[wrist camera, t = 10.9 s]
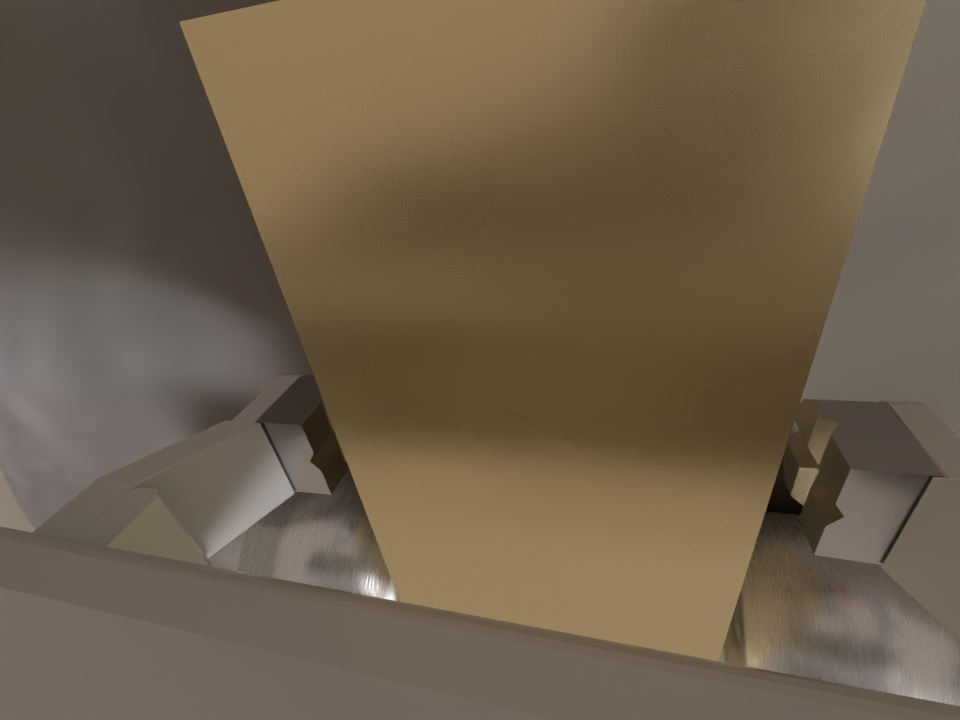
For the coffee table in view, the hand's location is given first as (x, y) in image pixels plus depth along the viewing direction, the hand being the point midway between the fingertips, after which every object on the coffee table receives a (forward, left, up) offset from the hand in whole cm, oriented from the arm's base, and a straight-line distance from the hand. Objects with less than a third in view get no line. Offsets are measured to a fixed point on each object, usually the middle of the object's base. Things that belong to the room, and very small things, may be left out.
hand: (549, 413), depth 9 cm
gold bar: (+1, 0, -3) cm, 3 cm away
